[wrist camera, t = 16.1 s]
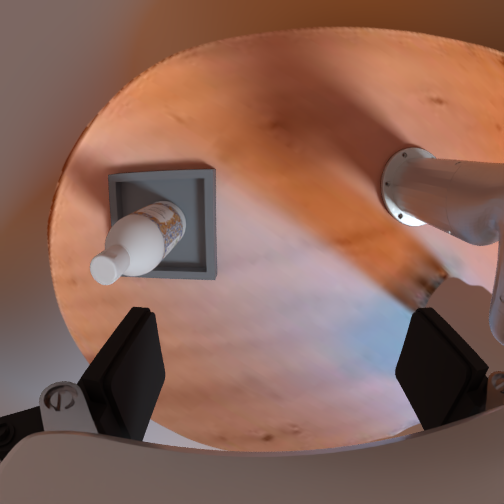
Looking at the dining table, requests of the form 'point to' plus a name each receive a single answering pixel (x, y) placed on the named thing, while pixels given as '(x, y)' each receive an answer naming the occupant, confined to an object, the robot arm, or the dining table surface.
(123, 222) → the bath foam
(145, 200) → the blue-gray tray
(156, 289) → the dining table surface
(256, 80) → the dining table surface
